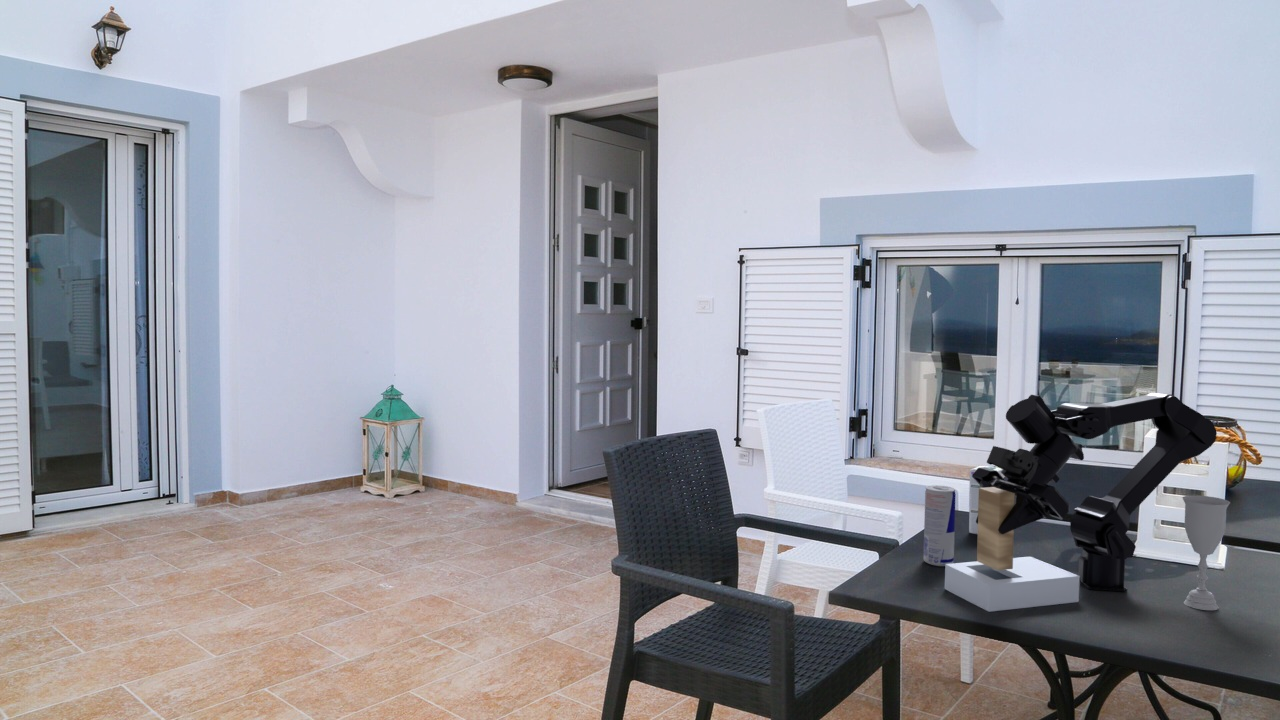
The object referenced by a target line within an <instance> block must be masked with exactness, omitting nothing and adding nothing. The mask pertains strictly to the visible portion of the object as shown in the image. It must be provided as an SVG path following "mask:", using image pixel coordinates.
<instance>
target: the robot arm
mask: <svg viewBox="0 0 1280 720" xmlns="http://www.w3.org/2000/svg"><path fill="white" fill-rule="evenodd" d="M1005 420H1007V422H1008V423H1009V424H1010V425H1011V426H1012V428H1013V429H1014V431H1016V432H1017V434H1018V435H1019V436H1020V437H1021V438H1022V439H1023V440H1024V442H1025V443H1027V444H1031V445H1032V444H1033V445H1034V446H1033V447H1032V448H1031V449H1030V450H1027V449H1025V448H1024V449H1023V448H1018V449H1017V450H1015V451H1014V450H1010V449H1008V448H1005V447H1000V446H995V445H993V446H992V448H991V450H990V452H989V455H988V457H987V460H986V463H987V464H988V465H989V466H991V465H993V466H994V467H999V468H1001V469H1003V470H1002V472H1001V473H1002V474H1003V475H1004V478H1005V477H1006V478H1007V479H1006V480H1005V479H1003V477H1002V476H1001V475H1000V474H999V473H998V472H997V471H996V470H992V469H989V468H985V467H982V468H978V469H977V470H976V471H975V472H974V474H973V475H972V477H973V478H974V479H975V480H976V482H977V483H978V484H979V485H980V486H981V487H982V488H986V487H995V488H998V489H1002V490H1005V491H1008V492H1011V493H1015V497H1016V498H1015V505H1014V507H1013V508H1012V509H1011V511H1010V512H1009V514H1008V515H1007V516H1006V518H1005V519H1004V521H1003V522H1002V524H1001V525H1000V527H999V529H998V531H999V532H1000V533H1001V534H1005V533H1007V532H1010V531H1012V530H1014V531H1015V530H1017V529H1019V528H1021V527H1023V526H1026V525H1029V524H1031V523H1035V522H1037V521H1041V520H1042V519H1043V520H1046V519H1048V518H1049V516H1050V517H1052V518H1055V519H1058V520H1061V521H1063V520H1064V519H1065V517H1066V516H1067V515H1068V513H1070V503H1069V502H1068V501H1067V499H1065V497H1064V496H1063V495H1062V494H1061V492H1059V490H1058V489H1057V488H1056V487H1055V486H1052V485H1049V484H1050V483H1055V484H1058V482H1059V481H1060V478H1059V476H1058V473H1059V472H1061V471H1060V470H1062V468H1063V467H1064V466H1065V465H1066V463H1067V462H1068V461H1069V460H1070V459H1074V460H1079V461H1084V459H1085V455H1084V452H1083V445H1082V444H1081V443H1076V442H1074V440H1073V439H1072V438H1071V437H1074V438H1078V439H1079V438H1080V439H1084V440H1093V439H1095V438H1097V437H1100V436H1103V435H1105V434H1107V433H1108V432H1109V431H1110V430H1111V429H1112V428H1114V427H1117V426H1118V427H1119V426H1122V425H1127V424H1132V423H1137V422H1142V421H1147V420H1151V422H1152V425H1153V426H1155V428H1156V429H1157V431H1156V433H1155V444H1154V446H1152V448H1150V450H1149V451H1148V452H1147V453H1146V454H1145V455H1144V456H1143V457H1142V458H1141V459H1140V460H1139V461H1138V462H1137V463H1136V464H1135V465H1134V467H1132V468H1131V470H1130V471H1128V473H1126V475H1125V476H1123V478H1122V479H1121V480H1120V481H1119V482H1118V483H1117V484H1116V485H1115V486H1114V487H1113V488H1112V489H1111V490H1110V491H1109V492H1108V493H1107V494H1106V495H1105V496H1103V497H1101V498H1100V497H1096V496H1093V495H1088V496H1086V497H1085V498H1084V500H1083V501H1082V502H1081V503H1080V505H1078V506H1077V507H1075V508H1073V512H1074V513H1073V514H1072V516H1071V517H1070V519H1069V522H1070V525H1069V526H1070V527H1069V528H1070V533H1071V534H1072V536H1073V540H1074V543H1075V547H1076V548H1082V554H1081V555H1082V556H1079V557H1078V573H1077V575H1078V576H1080V577H1079V582H1081V583H1082V585H1084V586H1085V587H1086V588H1087V589H1089V590H1093V591H1094V590H1097V591H1114V592H1116V591H1117V592H1128V587H1127V586H1125V573H1126V572H1125V570H1126V569H1125V568H1126V560H1127V559H1128V558H1129V559H1130V558H1133V557H1134V553H1135V550H1136V544H1135V543H1134V542H1133V541H1132V539H1130V538H1129V536H1128V535H1127V533H1128V531H1129V530H1130V520H1131V515H1132V514H1133V512H1135V510H1136V509H1137V508H1139V506H1140V505H1141V504H1142V503H1143V502H1144V501H1145V500H1146V499H1147V498H1148V497H1149V496H1150V495H1151V493H1153V492H1154V491H1155V490H1156V488H1158V486H1159V485H1160V484H1161V483H1162V482H1163V481H1164V480H1165V479H1166V478H1167V476H1169V475H1170V474H1171V473H1172V471H1174V470H1175V469H1176V467H1177V466H1178V465H1180V463H1182V462H1184V461H1188V460H1190V459H1192V458H1193V459H1194V458H1195V457H1198V456H1201V454H1203V453H1204V452H1206V451H1207V450H1208V449H1210V448H1211V447H1212V446H1213V445H1214V443H1215V442H1216V440H1217V429H1216V427H1215V424H1214V422H1213V421H1212V420H1211V419H1209V418H1207V417H1205V416H1204V415H1203V414H1202V413H1200V412H1198V411H1197V410H1195V409H1193V408H1191V407H1190V406H1188V405H1186V404H1185V403H1183V401H1181V399H1179V398H1178V397H1176V396H1175V395H1173V394H1169V393H1162V392H1150V393H1148V394H1145V395H1141V396H1136V397H1135V396H1134V397H1129V398H1125V399H1120V400H1115V401H1109V402H1105V403H1100V404H1099V403H1098V404H1097V403H1082V402H1078V403H1077V402H1074V403H1073V402H1065V403H1061V404H1060V405H1058V406H1057V409H1053V410H1051V409H1050V408H1049V407H1048V405H1047V404H1046V402H1045V400H1044V399H1043V398H1042V396H1040V395H1036V394H1030V395H1029V396H1028V398H1026V399H1025V398H1024V399H1022V400H1019V401H1018V402H1016V403H1015V404H1013V405H1011V406H1010V407H1009V408H1008V410H1007V411H1006V414H1005ZM1048 514H1049V515H1048ZM976 523H977V524H978V516H977V519H976Z"/></svg>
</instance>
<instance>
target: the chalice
mask: <svg viewBox="0 0 1280 720" xmlns="http://www.w3.org/2000/svg"><path fill="white" fill-rule="evenodd" d="M1181 498H1182V500H1183V503H1184V504H1185V505H1184V524H1183V527H1184V528H1185V533H1186V536H1187V538H1188V541H1189V543H1190V545H1191V547H1192V549H1193V551H1194V552H1195V553H1196V554H1198V555H1199V562H1198V564H1197V567H1198V570H1199V571H1198V574H1197V575H1196V578H1197V580H1198V586H1197V587H1196V589H1195V588H1194V589H1191V590H1190V591H1189V592H1188V595H1187V596H1186V598H1185V600H1184V601H1183V604H1184V605H1185V606H1186V607H1189V608H1193V609H1197V610H1202V611H1203V610H1204V611H1216V610H1219V609H1220V607H1219V606H1218V604H1217V600H1216V599H1215V595H1214V594H1213V593H1212V592H1211V591H1209V590H1208V588H1206V581H1207V580H1208V579H1209V577H1208V576H1207V573H1206V571H1207V569H1208V568H1209V566H1208V563H1207V558H1208V556H1210V555H1213V554H1214V553H1215V551H1216V549H1217V548H1218V546H1219V545H1220V543H1221V542H1222V539H1223V537H1224V534H1225V533H1226V526H1227V525H1226V523H1227V509H1228V507H1229V506H1230V504H1231V501H1229V500H1227V499H1225V498H1220V497H1214V496H1210V495H1209V496H1207V495H1185V496H1182V497H1181Z"/></svg>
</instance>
